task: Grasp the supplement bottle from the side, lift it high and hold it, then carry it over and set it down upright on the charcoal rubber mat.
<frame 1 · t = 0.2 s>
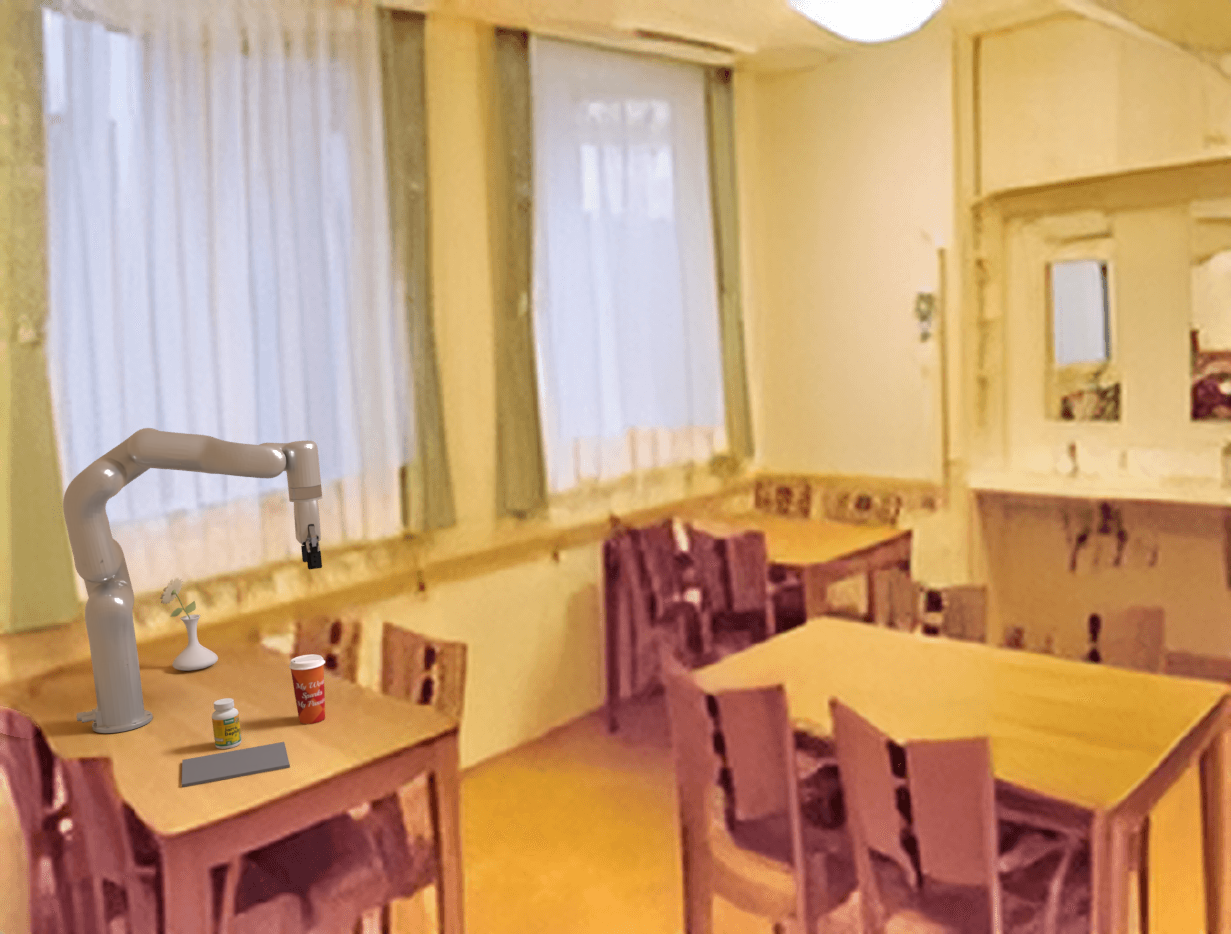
hand: (312, 564, 265), 31 cm above the table, tool pointing down, fingers open, 9 cm apart
charcoal mat: (235, 765, 225), on the table
flower in vase: (193, 669, 296), on the table
supplement bottle: (228, 745, 236), on the table
paper cup: (312, 720, 249), on the table
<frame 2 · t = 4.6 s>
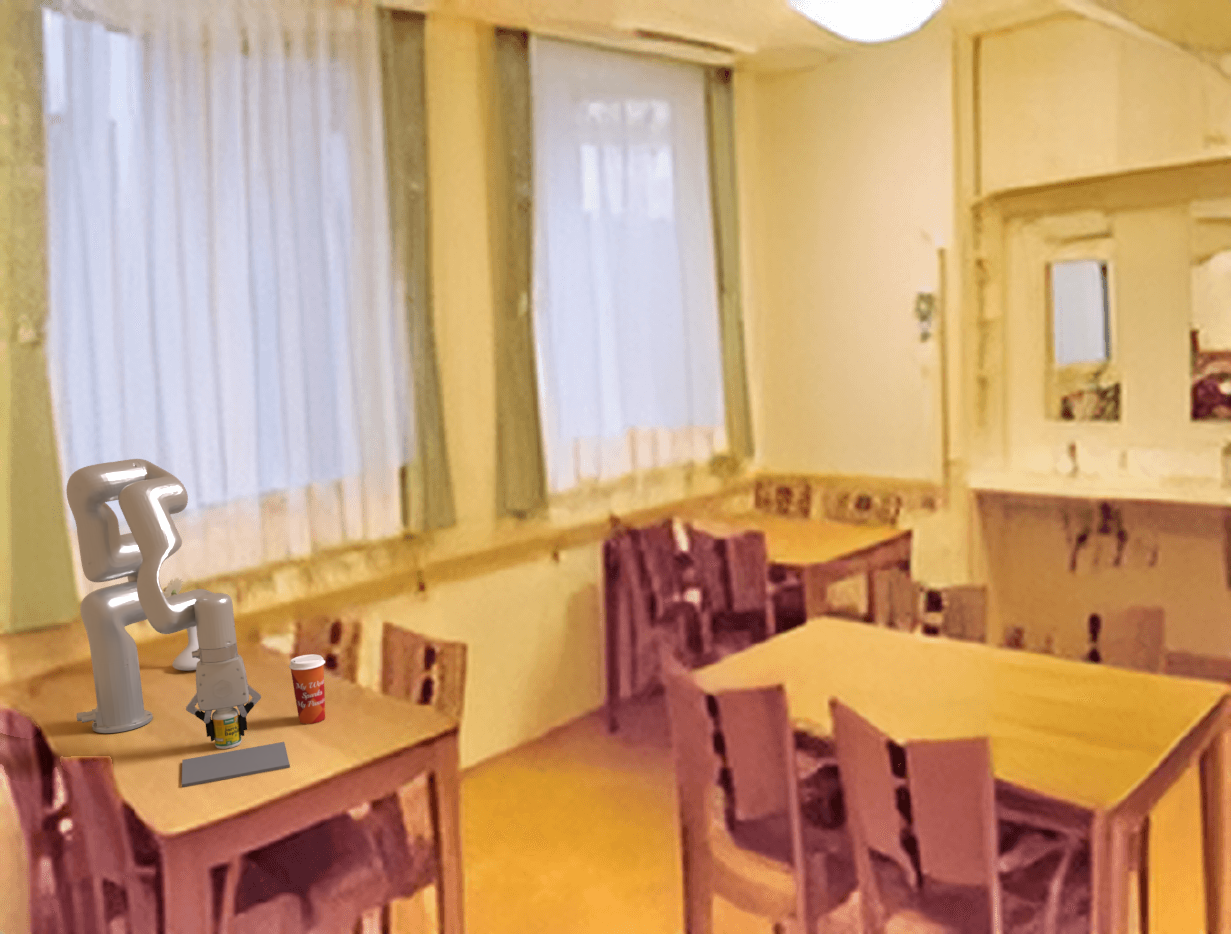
hand: (227, 735, 236), 2 cm above the table, tool pointing down, fingers closed on supplement bottle, 5 cm apart
supplement bottle: (228, 745, 236), on the table, touching gripper
everything else where it was.
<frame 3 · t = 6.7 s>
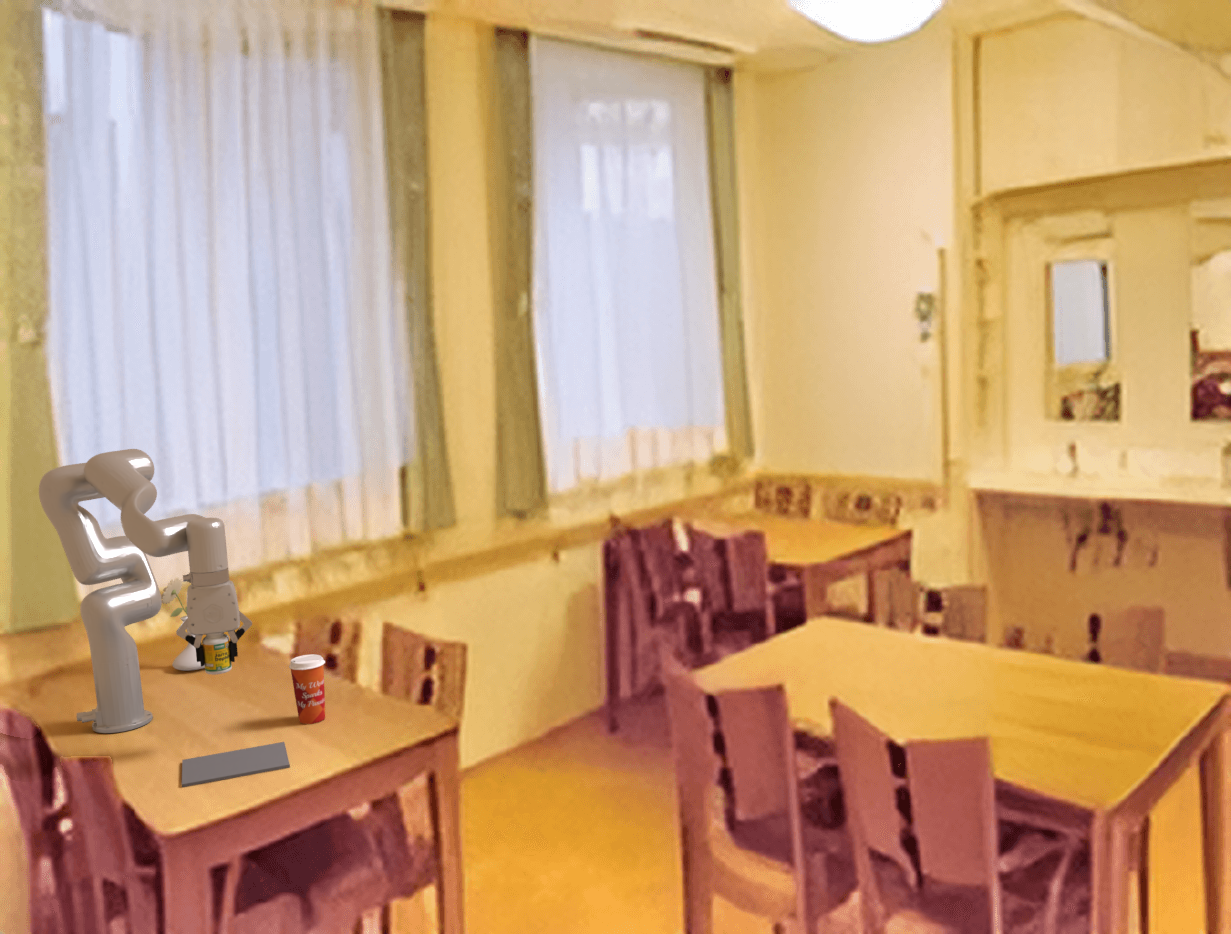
hand: (217, 661, 234), 18 cm above the table, tool pointing down, fingers closed on supplement bottle, 5 cm apart
supplement bottle: (218, 672, 235), point 16 cm above the table, touching gripper
everything else where it was.
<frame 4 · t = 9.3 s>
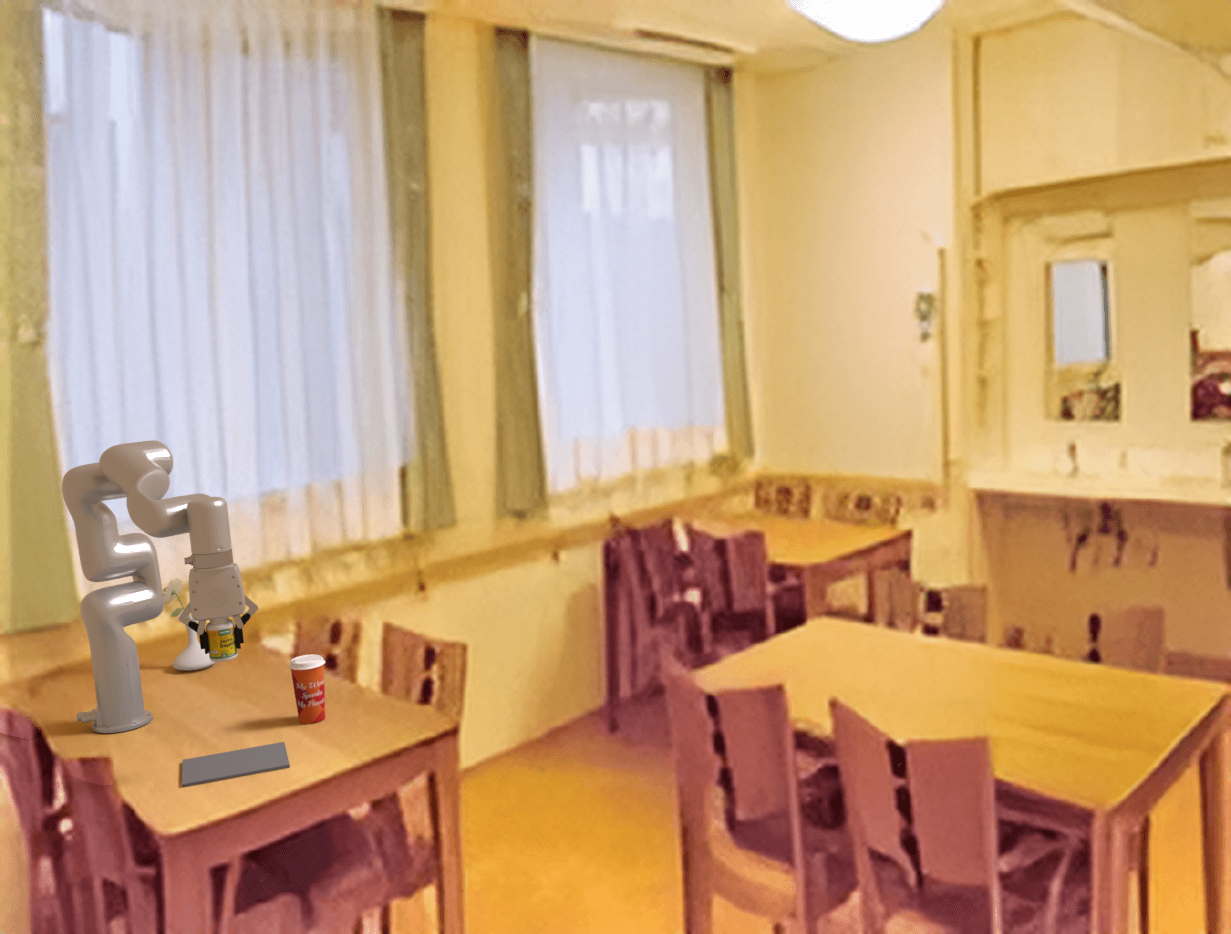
hand: (222, 648, 222), 24 cm above the table, tool pointing down, fingers closed on supplement bottle, 5 cm apart
supplement bottle: (223, 659, 222), point 22 cm above the table, touching gripper
everything else where it was.
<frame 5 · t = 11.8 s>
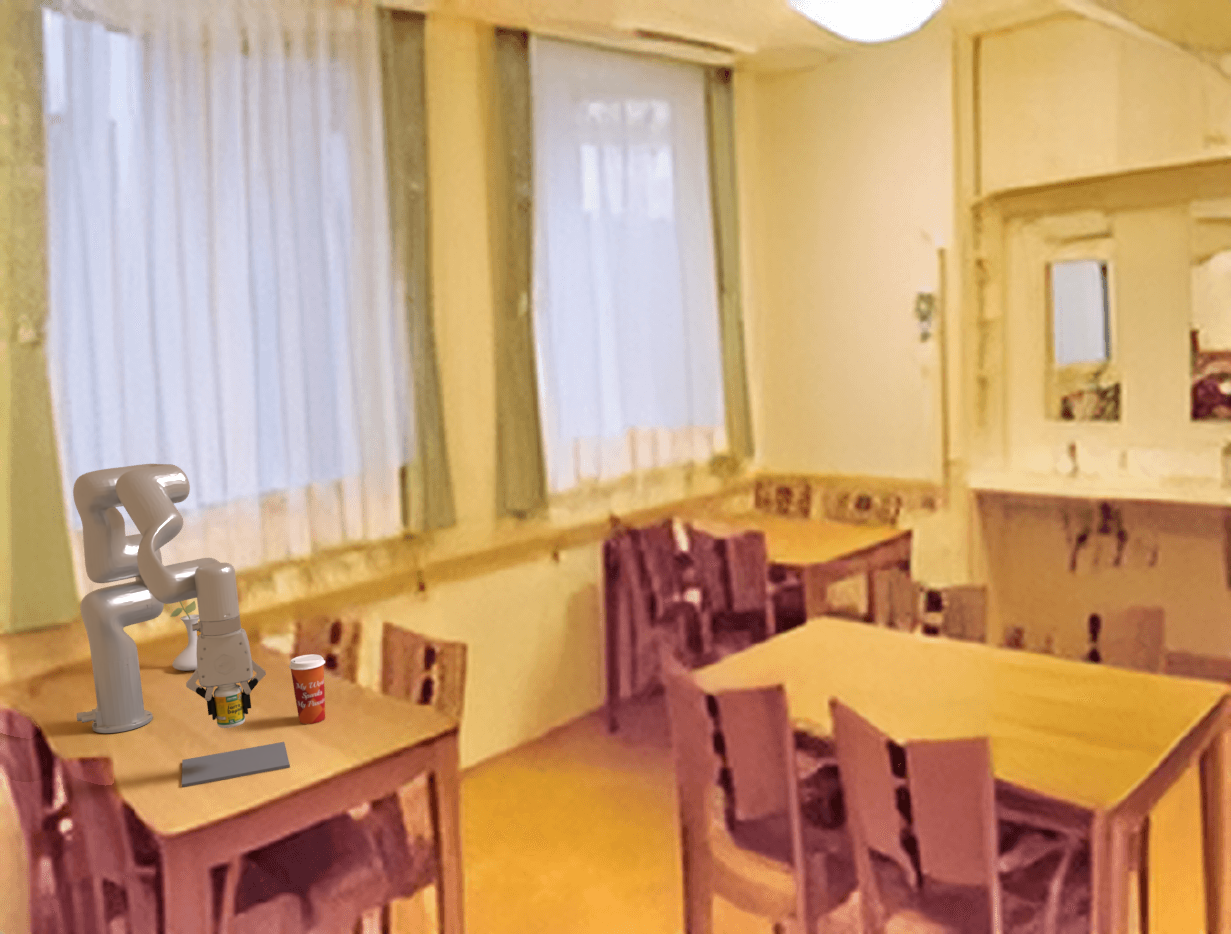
hand: (230, 714, 222), 11 cm above the table, tool pointing down, fingers closed on supplement bottle, 5 cm apart
supplement bottle: (231, 724, 223), point 9 cm above the table, touching gripper
everything else where it was.
when the fingers open (4 cm above the table, at t = 14.1 s): supplement bottle drops 1 cm, resting on charcoal mat.
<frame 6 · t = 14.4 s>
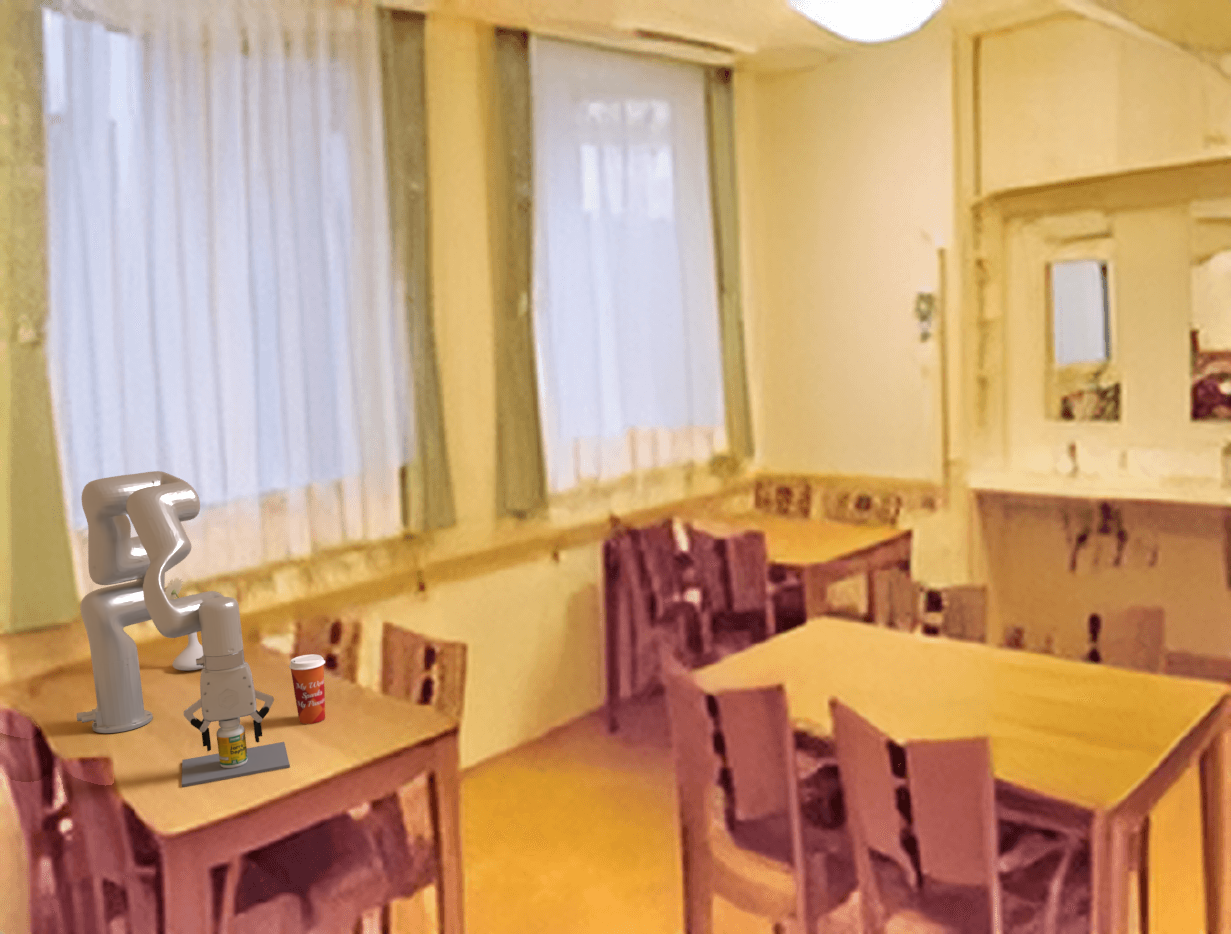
hand: (233, 744, 223), 5 cm above the table, tool pointing down, fingers open, 8 cm apart
supplement bottle: (234, 764, 224), resting on charcoal mat
everything else where it was.
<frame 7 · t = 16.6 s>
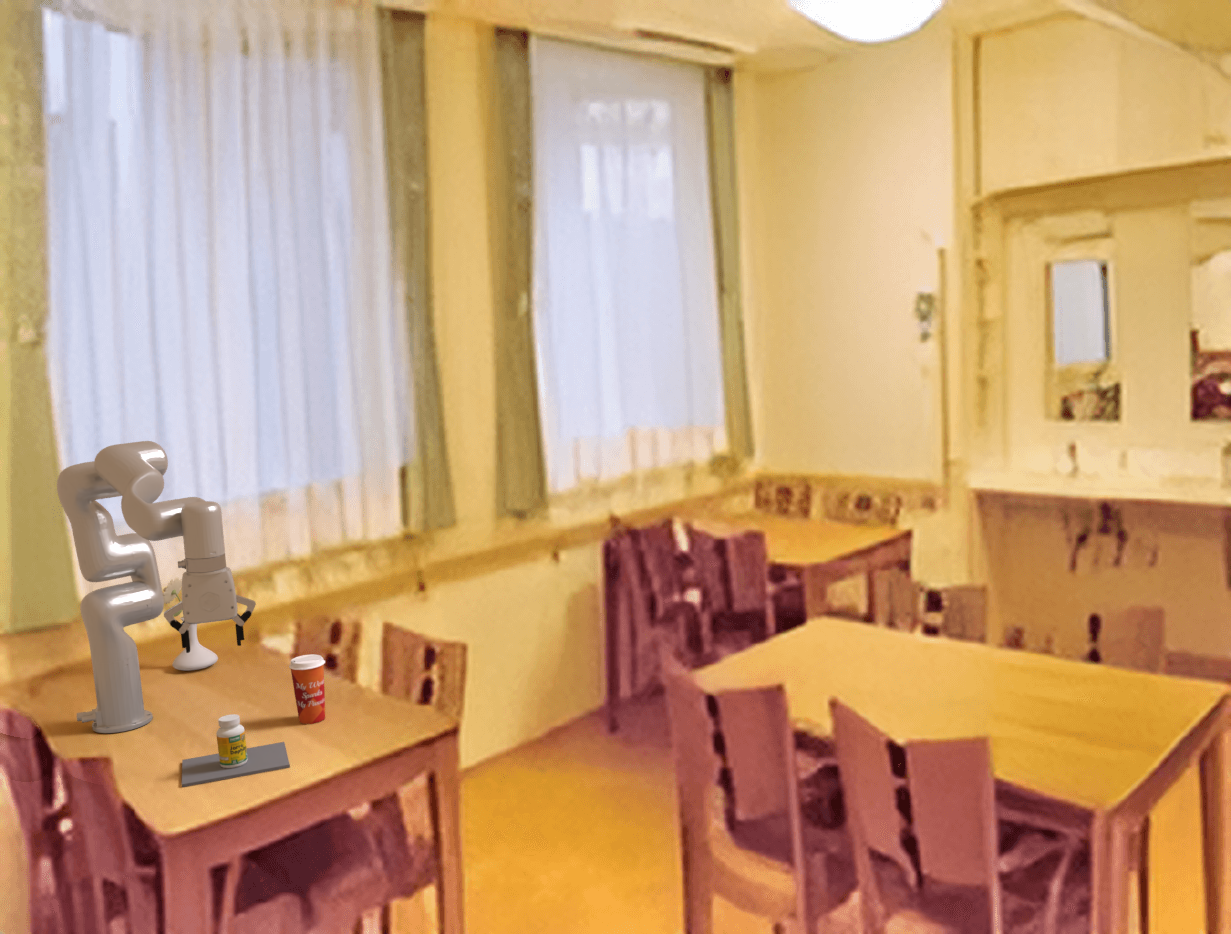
hand: (213, 647, 225), 24 cm above the table, tool pointing down, fingers open, 9 cm apart
nothing on the table moved.
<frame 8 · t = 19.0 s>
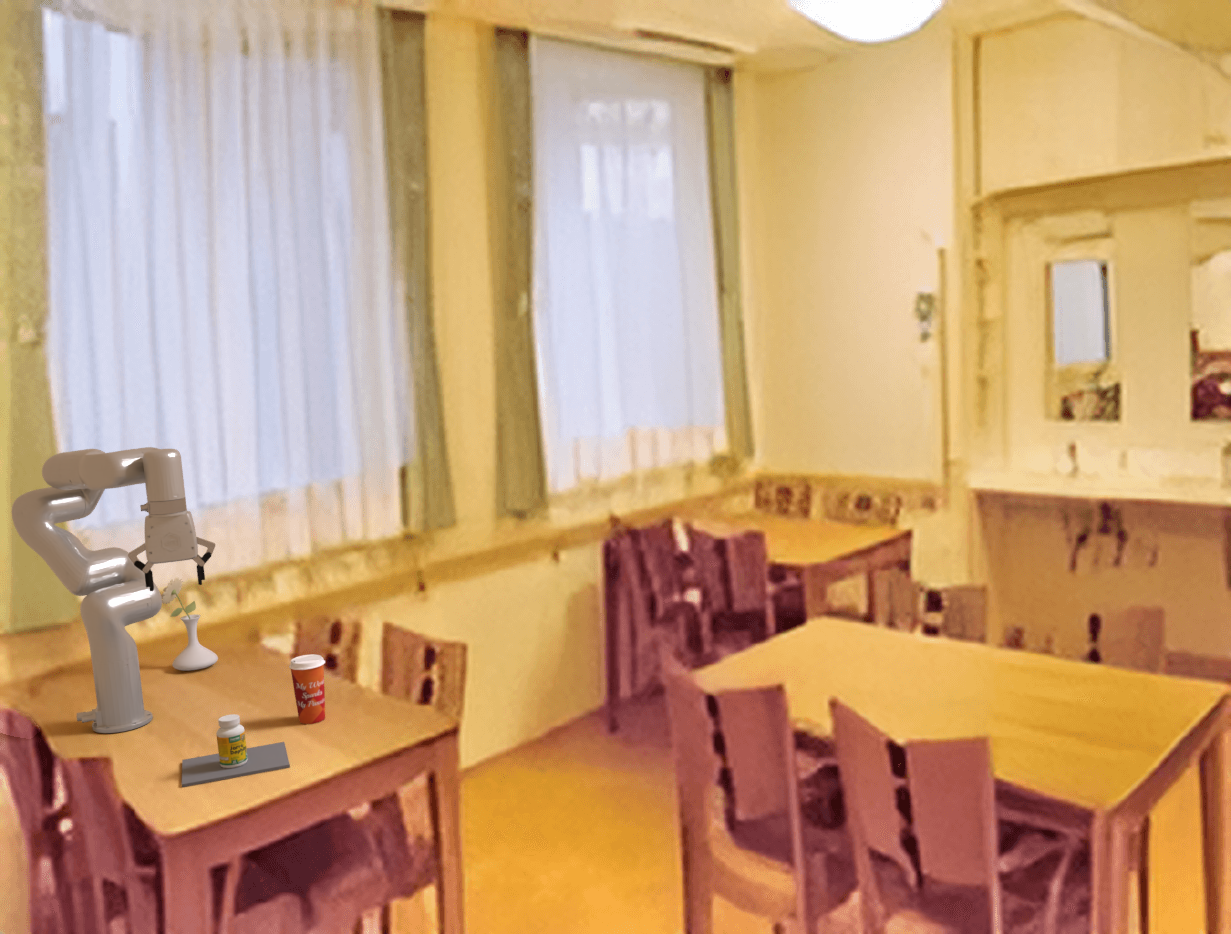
hand: (176, 587, 238), 33 cm above the table, tool pointing down, fingers open, 9 cm apart
nothing on the table moved.
at the end: supplement bottle inside the target area on the charcoal mat (0.9 cm from its centre), point 0.4 cm above the charcoal mat's base; supplement bottle tilted 0°; the gripper is holding nothing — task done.
